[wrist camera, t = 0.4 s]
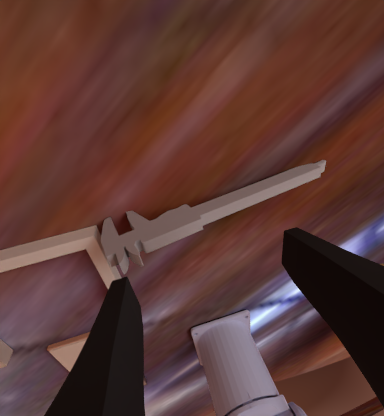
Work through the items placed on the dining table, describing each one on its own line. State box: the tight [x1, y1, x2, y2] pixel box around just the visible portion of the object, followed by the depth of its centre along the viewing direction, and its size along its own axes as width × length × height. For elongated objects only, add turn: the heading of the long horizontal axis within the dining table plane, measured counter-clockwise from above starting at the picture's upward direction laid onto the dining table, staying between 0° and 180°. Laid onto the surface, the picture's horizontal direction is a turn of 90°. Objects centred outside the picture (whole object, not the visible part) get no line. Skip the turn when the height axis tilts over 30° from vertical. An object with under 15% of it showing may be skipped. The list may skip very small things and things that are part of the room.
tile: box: [47, 332, 90, 372], centre depth 26 cm, size 6×6×1 cm
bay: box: [0, 225, 121, 368], centre depth 20 cm, size 12×14×2 cm
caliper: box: [101, 160, 326, 274], centre depth 18 cm, size 20×1×6 cm, turn 100°
